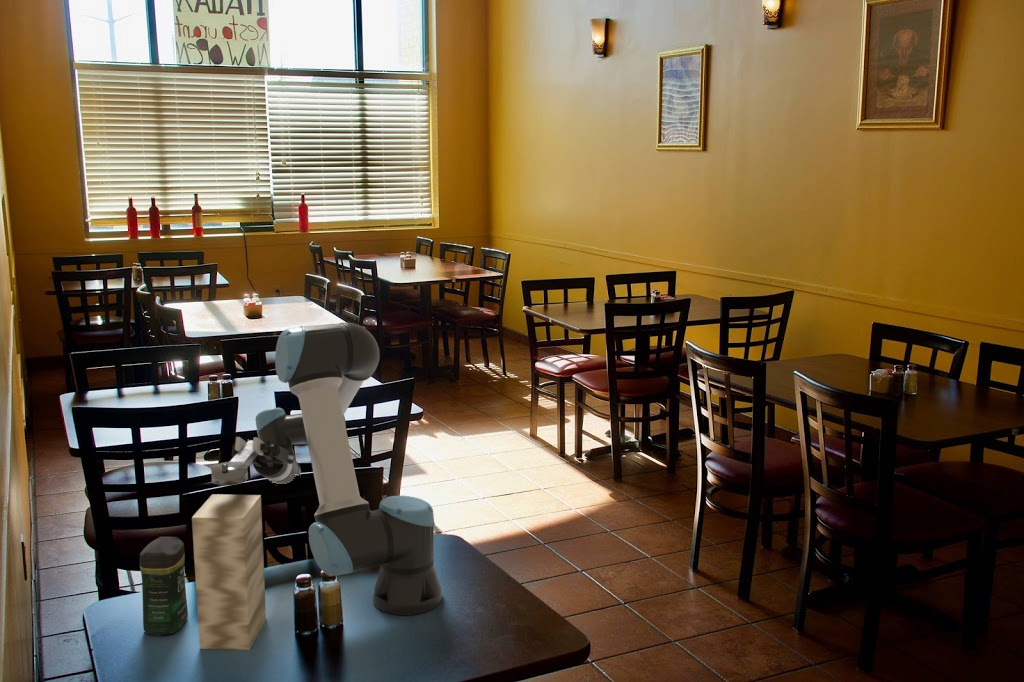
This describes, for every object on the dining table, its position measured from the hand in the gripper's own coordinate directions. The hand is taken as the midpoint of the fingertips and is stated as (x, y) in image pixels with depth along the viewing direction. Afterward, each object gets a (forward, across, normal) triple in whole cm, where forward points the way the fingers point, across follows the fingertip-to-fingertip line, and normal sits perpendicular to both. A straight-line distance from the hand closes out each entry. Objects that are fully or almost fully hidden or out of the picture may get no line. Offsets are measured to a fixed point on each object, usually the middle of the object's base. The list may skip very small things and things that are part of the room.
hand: (246, 443), depth 195 cm
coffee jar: (-7, +14, -38) cm, 41 cm away
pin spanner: (+2, 0, -5) cm, 5 cm away
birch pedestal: (-4, 0, -39) cm, 39 cm away
